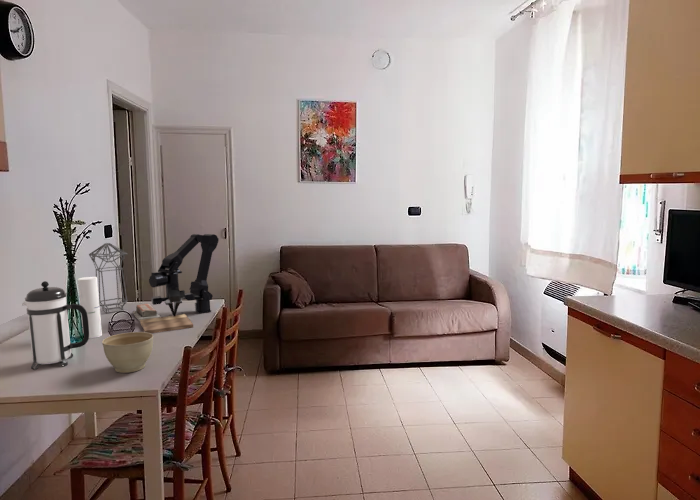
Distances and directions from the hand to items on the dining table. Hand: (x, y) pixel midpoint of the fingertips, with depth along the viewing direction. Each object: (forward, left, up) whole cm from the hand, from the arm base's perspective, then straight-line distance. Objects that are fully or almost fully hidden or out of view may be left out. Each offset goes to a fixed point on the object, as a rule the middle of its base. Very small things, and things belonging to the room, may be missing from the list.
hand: (174, 316), depth 242 cm
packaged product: (+11, -15, -2) cm, 19 cm away
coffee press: (+47, +41, -2) cm, 62 cm away
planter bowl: (+24, +62, -2) cm, 66 cm away
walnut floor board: (+5, +13, -2) cm, 14 cm away
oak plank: (+5, +2, -2) cm, 5 cm away
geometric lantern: (+25, -36, -2) cm, 44 cm away
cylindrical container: (+35, +10, -2) cm, 36 cm away
